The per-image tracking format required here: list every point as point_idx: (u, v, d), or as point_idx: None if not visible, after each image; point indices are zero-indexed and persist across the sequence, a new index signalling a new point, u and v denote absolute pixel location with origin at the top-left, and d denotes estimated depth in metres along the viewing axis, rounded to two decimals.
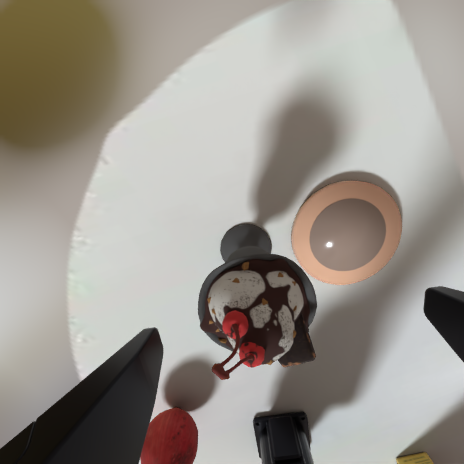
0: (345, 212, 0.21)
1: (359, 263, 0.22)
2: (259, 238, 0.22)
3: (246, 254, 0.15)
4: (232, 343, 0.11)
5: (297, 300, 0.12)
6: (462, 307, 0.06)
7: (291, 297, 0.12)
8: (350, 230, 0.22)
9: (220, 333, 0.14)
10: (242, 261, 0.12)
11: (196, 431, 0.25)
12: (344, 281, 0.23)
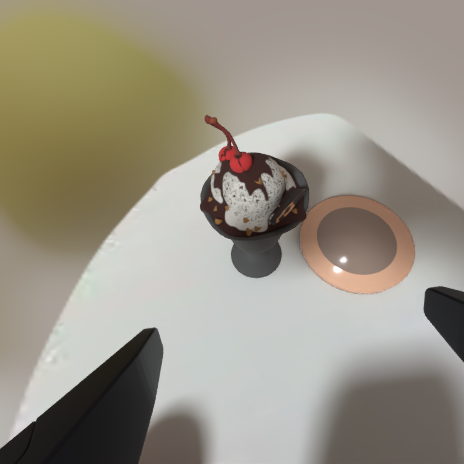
0: (347, 218, 0.23)
1: (378, 266, 0.21)
2: None
3: None
4: (226, 179, 0.13)
5: (287, 174, 0.14)
6: (462, 307, 0.06)
7: (281, 168, 0.14)
8: (356, 233, 0.22)
9: (217, 212, 0.14)
10: None
11: None
12: (368, 288, 0.20)
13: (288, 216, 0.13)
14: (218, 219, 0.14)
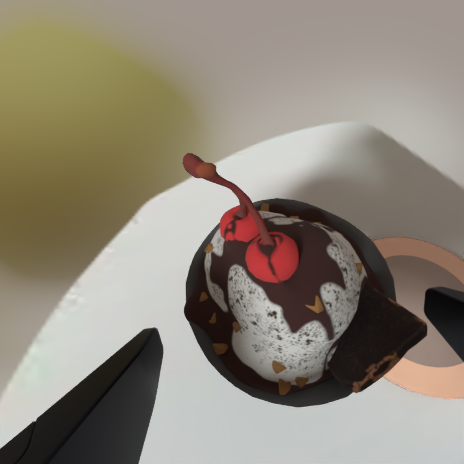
0: (401, 272, 0.16)
1: None
2: None
3: None
4: (235, 281, 0.06)
5: (352, 252, 0.07)
6: (462, 307, 0.06)
7: (339, 239, 0.07)
8: (418, 297, 0.16)
9: (217, 327, 0.07)
10: (260, 208, 0.09)
11: None
12: (448, 391, 0.13)
13: None
14: (219, 345, 0.07)
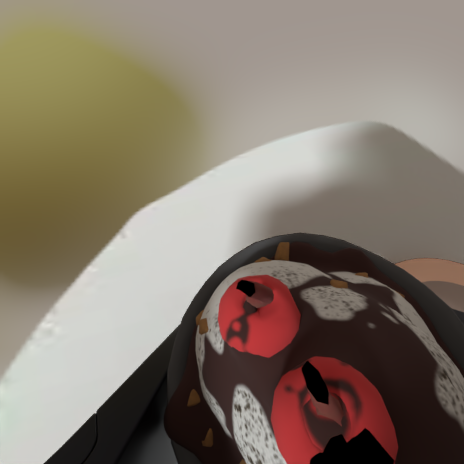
0: None
1: None
2: None
3: None
4: (247, 422, 0.03)
5: (427, 331, 0.05)
6: None
7: (407, 312, 0.05)
8: None
9: (215, 455, 0.05)
10: (276, 247, 0.06)
11: None
12: None
13: None
14: None
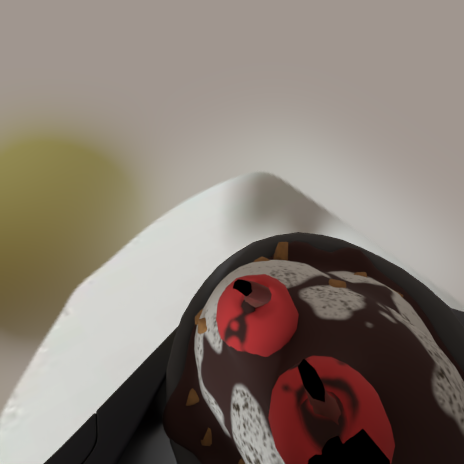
0: None
1: None
2: None
3: None
4: (246, 422, 0.03)
5: (425, 331, 0.05)
6: None
7: (406, 311, 0.05)
8: None
9: (214, 454, 0.05)
10: (275, 246, 0.06)
11: None
12: None
13: None
14: None
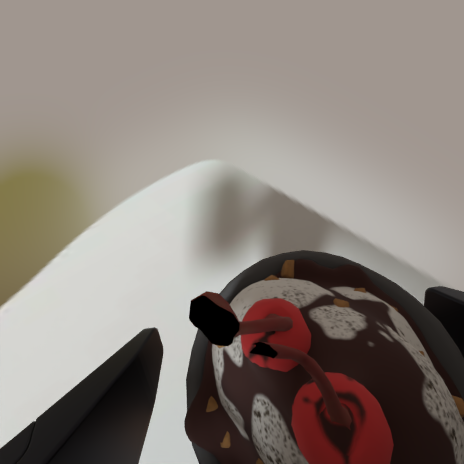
0: None
1: None
2: None
3: None
4: (267, 427, 0.04)
5: (418, 342, 0.05)
6: (462, 307, 0.06)
7: (400, 325, 0.05)
8: None
9: (232, 455, 0.05)
10: (281, 263, 0.07)
11: None
12: None
13: None
14: None
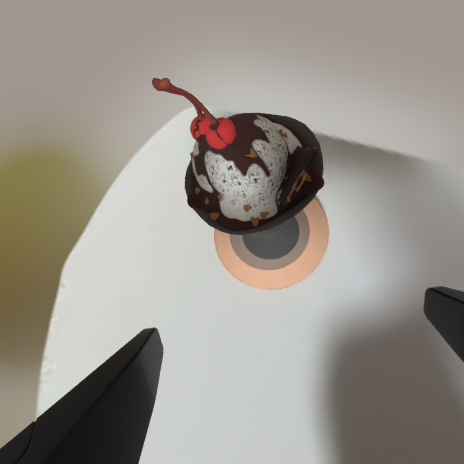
0: None
1: (299, 247, 0.20)
2: None
3: None
4: (208, 161, 0.10)
5: (287, 132, 0.11)
6: (462, 307, 0.06)
7: (277, 126, 0.11)
8: None
9: (210, 205, 0.11)
10: None
11: None
12: (301, 274, 0.19)
13: (300, 187, 0.10)
14: (213, 213, 0.11)
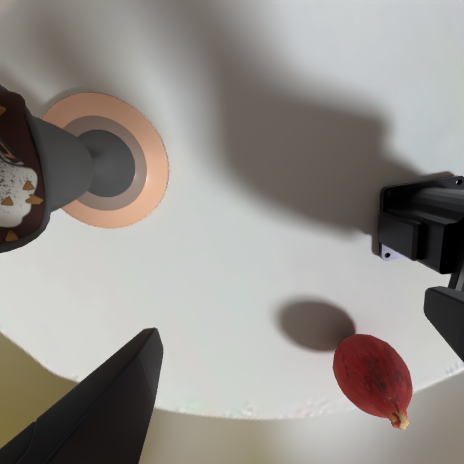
0: None
1: (133, 145, 0.18)
2: (87, 142, 0.17)
3: None
4: None
5: None
6: (462, 307, 0.06)
7: None
8: None
9: None
10: None
11: (361, 340, 0.20)
12: (161, 161, 0.18)
13: (11, 125, 0.08)
14: (8, 236, 0.09)
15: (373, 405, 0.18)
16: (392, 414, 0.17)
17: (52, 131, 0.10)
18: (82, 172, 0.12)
